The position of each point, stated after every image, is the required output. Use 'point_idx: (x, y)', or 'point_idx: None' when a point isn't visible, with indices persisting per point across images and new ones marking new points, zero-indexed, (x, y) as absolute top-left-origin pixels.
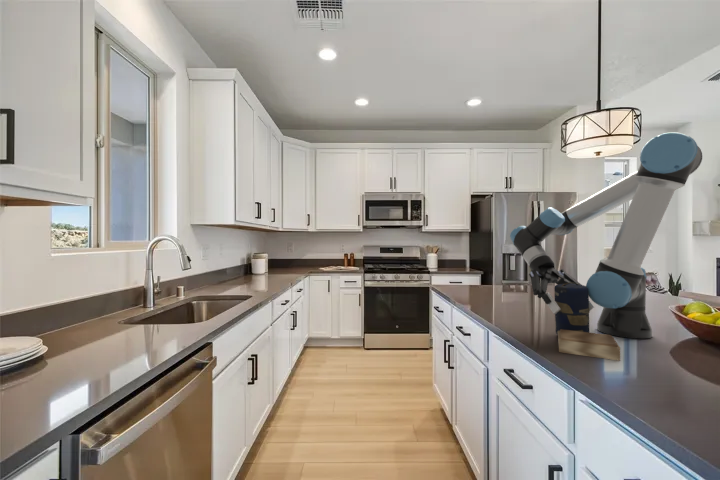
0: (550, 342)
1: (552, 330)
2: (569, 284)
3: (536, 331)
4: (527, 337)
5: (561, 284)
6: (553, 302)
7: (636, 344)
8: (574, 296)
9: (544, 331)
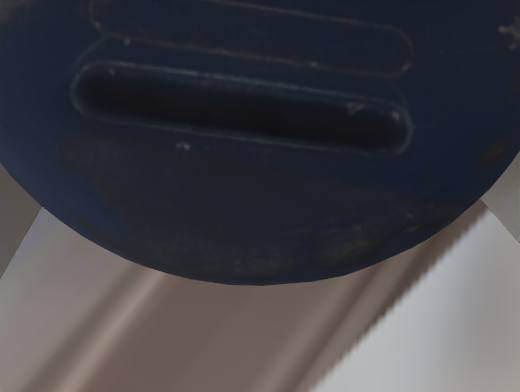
0: None
1: (233, 337)
2: (180, 57)
3: (347, 327)
4: (477, 216)
5: (349, 153)
6: None
7: None
8: None
9: (299, 321)
